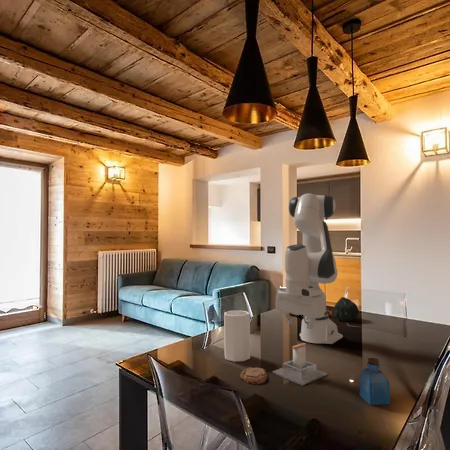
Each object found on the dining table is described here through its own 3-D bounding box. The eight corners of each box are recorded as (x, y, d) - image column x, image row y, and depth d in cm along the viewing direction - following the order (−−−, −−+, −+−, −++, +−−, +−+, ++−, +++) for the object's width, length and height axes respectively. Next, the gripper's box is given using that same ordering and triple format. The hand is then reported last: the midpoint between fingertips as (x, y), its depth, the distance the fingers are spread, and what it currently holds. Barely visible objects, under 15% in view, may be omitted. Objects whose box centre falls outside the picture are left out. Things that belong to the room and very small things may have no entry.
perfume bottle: (359, 395, 103) (358, 356, 104) (378, 394, 103) (377, 355, 104) (370, 405, 97) (368, 363, 97) (390, 404, 97) (388, 362, 98)
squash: (361, 309, 207) (344, 291, 209) (365, 315, 192) (347, 295, 194) (343, 323, 209) (327, 305, 211) (347, 330, 194) (329, 311, 197)
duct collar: (296, 364, 130) (296, 354, 130) (327, 374, 119) (327, 364, 119) (272, 373, 121) (272, 363, 121) (303, 385, 110) (302, 374, 110)
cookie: (249, 387, 110) (249, 378, 110) (235, 375, 120) (235, 367, 120) (274, 382, 114) (274, 373, 114) (259, 371, 124) (259, 363, 124)
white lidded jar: (288, 372, 120) (288, 345, 120) (300, 368, 124) (299, 341, 124) (298, 376, 116) (298, 348, 117) (310, 371, 120) (309, 344, 121)
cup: (232, 364, 130) (231, 316, 131) (219, 355, 140) (219, 311, 141) (255, 359, 136) (255, 313, 137) (241, 351, 145) (241, 309, 146)
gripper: (271, 287, 128) (272, 322, 127) (315, 292, 112) (317, 333, 111) (282, 285, 132) (283, 319, 131) (326, 290, 116) (328, 329, 115)
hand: (299, 326), depth 121 cm, fingers open, 8 cm apart
